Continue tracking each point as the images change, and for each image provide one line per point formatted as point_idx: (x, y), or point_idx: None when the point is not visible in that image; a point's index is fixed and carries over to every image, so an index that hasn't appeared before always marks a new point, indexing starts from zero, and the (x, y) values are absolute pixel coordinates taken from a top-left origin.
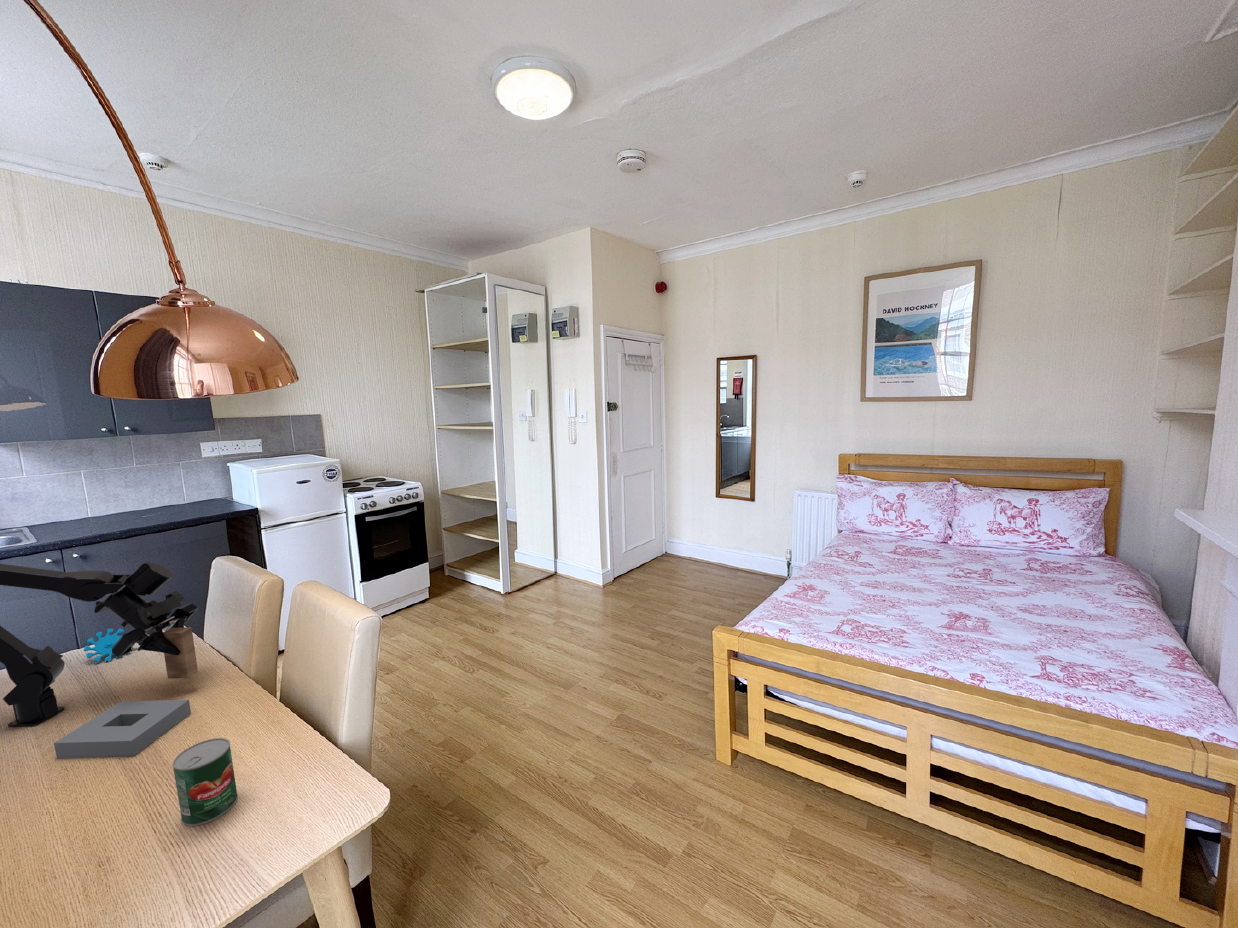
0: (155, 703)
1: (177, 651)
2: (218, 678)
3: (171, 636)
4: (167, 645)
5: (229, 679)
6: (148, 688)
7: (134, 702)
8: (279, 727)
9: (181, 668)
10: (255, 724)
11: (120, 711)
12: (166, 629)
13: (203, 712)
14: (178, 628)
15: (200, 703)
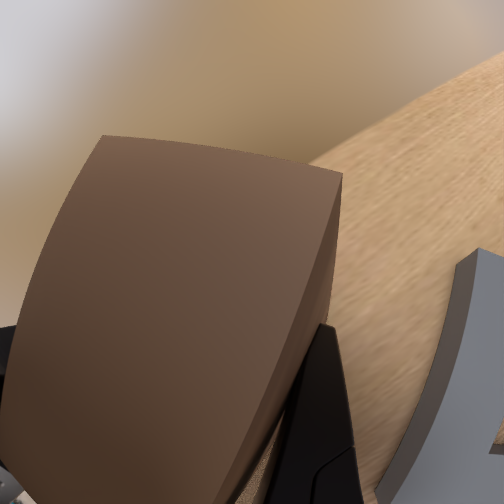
0: (469, 371)
1: (336, 341)
2: None
3: (254, 438)
4: (348, 439)
5: None
6: None
7: (421, 463)
8: (498, 77)
9: None
10: (498, 106)
11: (466, 469)
12: (4, 487)
13: (457, 228)
14: (30, 358)
15: (403, 261)
